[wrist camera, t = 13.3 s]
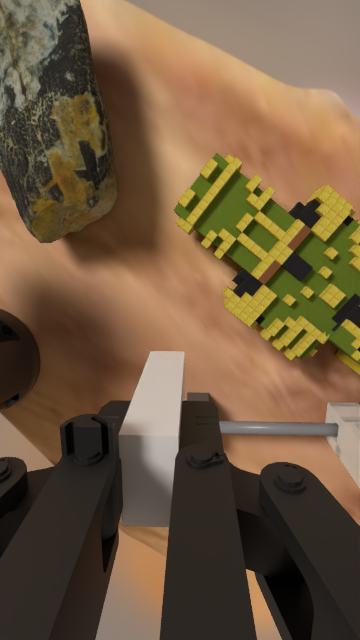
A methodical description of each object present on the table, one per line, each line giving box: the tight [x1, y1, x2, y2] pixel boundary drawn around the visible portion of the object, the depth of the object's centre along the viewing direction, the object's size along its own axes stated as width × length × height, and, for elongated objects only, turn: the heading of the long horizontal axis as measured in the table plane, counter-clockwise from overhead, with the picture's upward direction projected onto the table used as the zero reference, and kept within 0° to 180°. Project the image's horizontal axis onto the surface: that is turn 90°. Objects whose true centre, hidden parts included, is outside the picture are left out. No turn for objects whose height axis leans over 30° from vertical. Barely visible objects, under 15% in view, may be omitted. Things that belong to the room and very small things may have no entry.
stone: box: [0, 0, 119, 243], centre depth 36 cm, size 15×12×25 cm
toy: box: [174, 153, 360, 375], centre depth 39 cm, size 17×10×30 cm
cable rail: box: [187, 393, 339, 436], centre depth 45 cm, size 29×6×6 cm, turn 90°
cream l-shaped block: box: [324, 402, 360, 488], centre depth 41 cm, size 4×5×11 cm
